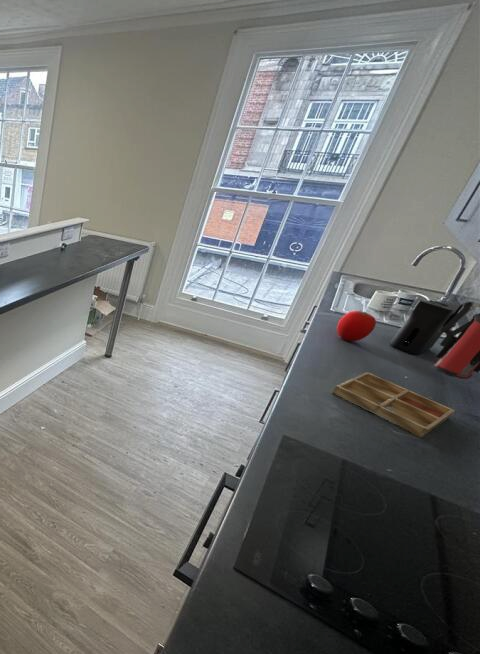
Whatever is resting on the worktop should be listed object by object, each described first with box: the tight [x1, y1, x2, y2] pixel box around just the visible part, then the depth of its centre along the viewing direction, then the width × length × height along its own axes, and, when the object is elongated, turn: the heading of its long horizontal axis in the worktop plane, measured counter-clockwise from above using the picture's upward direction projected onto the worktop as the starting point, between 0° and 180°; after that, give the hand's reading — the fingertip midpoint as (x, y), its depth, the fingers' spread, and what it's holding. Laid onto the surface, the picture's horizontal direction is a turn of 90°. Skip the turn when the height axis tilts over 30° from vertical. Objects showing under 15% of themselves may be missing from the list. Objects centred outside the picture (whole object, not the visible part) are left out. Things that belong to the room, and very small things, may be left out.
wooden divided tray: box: [331, 371, 456, 439], centre depth 126 cm, size 22×22×3 cm
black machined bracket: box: [389, 299, 466, 356], centre depth 161 cm, size 12×21×22 cm, turn 119°
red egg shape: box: [336, 310, 377, 342], centre depth 165 cm, size 11×11×13 cm
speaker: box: [433, 313, 480, 380], centre depth 113 cm, size 8×8×18 cm
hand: (457, 363), depth 116 cm, fingers closed on speaker, 7 cm apart
